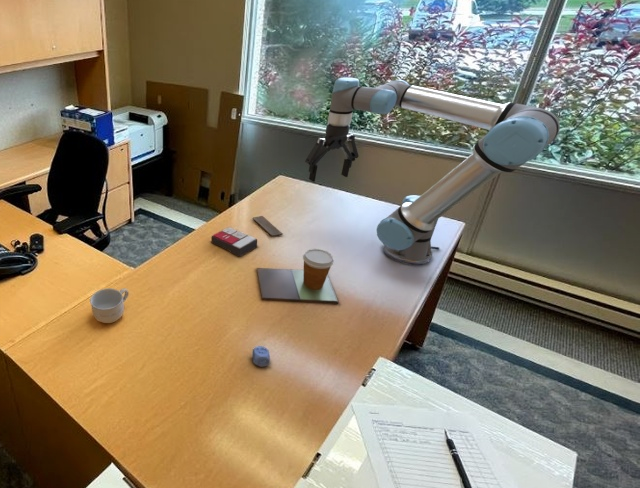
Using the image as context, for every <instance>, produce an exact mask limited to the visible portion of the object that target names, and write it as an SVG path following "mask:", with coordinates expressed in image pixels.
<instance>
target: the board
mask: <svg viewBox="0 0 640 488" xmlns="http://www.w3.org/2000/svg"><path fill="white" fill-rule="evenodd" d="M256 273H257V278H258V284H259V290H260V296H261V300H263V301H276V302H277V301H278V302H294V303H295V302H296V303H313V304H328V305H329V304H331V305H338V304H339V300H338V298H337V295H336V293H335V290H334V288H333V285H332V283H331V281H330V279H329V276H328V275H327V277H326V280H325V282H324V285H323V287H322V288H321V289H319V290H313V289H309V288H307V287H306V286H305V285H304V283H303V276H304V269H292V268H290V269H287V268H270V267H269V268H267V267H266V268H265V267H256Z"/></svg>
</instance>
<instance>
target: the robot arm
mask: <svg viewBox="0 0 640 488" xmlns="http://www.w3.org/2000/svg"><path fill="white" fill-rule="evenodd" d="M394 107H397V108H401V109H405V110H409V111H414V112H417V113H421V114H424V115H429V116H433V117H436V118H441V119H445V120H448V121H451V122H456V123H461V124H464V125H467V126H472V127H476V128H480V129H484V130H487V131H488V132H487V133H486V134H485V135H484V136H483V137H482V138H481V139H479V140H478V141H477V142H475V144H474V145H473V146H472V149H473V151H472V153H471V154H470V155H469V156H467V158H465V159H464V160H462V161H461V162H460V163H459V164H457V166H455V167H454V168H453V169H451V170H450V171H449V172H448V173H447V174H446V175H444V176H443V177H442V178H441V179H440V180H438V181H437V182H436V183H435V184H433V185H432V186H431V187H430V188H429V189H427V190H426V191H425V192H424V193H423V194H421V195H413V194H412V195H407V196H404V198H403V200H402V201H401V202H402V203H401V205H400V206H399V207H397V208H396V209H395V210H394V211H392V213H390V214H389V215H388V216H386V217H385V218H383V219H381V220H380V222H379V223H378V224H377V227H376V236H377V237H378V240H379V242H381V244H382V245H383V252H384V254H385V255H386V256H387V257H389V258H391V259H392V260H394V261H396V262H399V263H402V264H406V265H412V266H413V265H414V266H417V265H418V266H419V265H425V264H427V263H429V262H430V261H431V258H432V255H433V253H432V252H433V251H432V250H440V247H438V246H432V242H431V240H432V237H433V235H434V231H435V229H436V226H437V224H438V221H439V219H440V218H442V216H444V215H446V214H447V213H448V212H449V211H451V210H452V209H454V208H455V207H457V206H458V205H460V204H461V203H462V202H463V201H465V200H466V199H468V197H470V196H471V195H473V194H474V193H475V192H477V191H479V190H480V189H481V188H483V187H484V186H485V185H486V184H487V183H489V182H491V181H492V180H493V179H495V178H496V177H498V176H499V175H500V174H511V173H513V172H514V171H516V170H517V169H518V168H520V167H521V166H523V165H524V164H526V163H528V162H529V161H531V160H534V159H535V158H537V157H539V155H540V154H541V153H542V152H543V151H544V150H545V149H546V148H547V147H548V146H549V145H550V144H551V143H553V142H554V141H555V140H556V138H557V137H558V136H559V133H560V127H561V126H560V125H561V123H560V121H559V119H558V117H557V116H556V115H555V114H554V113H553V112H552V111H550V110H548V109H544V108H542V107H539V106H538V107H537V106H533V105H528V104H527V105H526V104H522V103H516V102H511V101H509V102H507V103H503V104H502V103H498V102H492V101H487V100H484V99H479V98H473V97H469V96H464V95H459V94H455V93H451V92H446V91H441V90H436V89H431V88H426V87H422V86H417V85H412V84H409V83H408V82H407V80H403V79H395V80H391V81H389V82H387V83H384V84H382V85H378V86H375V87H369V86H361V85H360V80H359V79H358V78H355V77H340V78H337V79H336V80H335V81H334V84H333V89H332V92H331V100H330V105H329V110H328V115H327V116H328V117H327V123H326V127H325V137H323V138H321V137H317V138H316V141H315V144H314V145H313V147H312V148H311V150H310V152H309V154H308V155H307V156H306V158H305V160H304V162H305V163H306V164H307V165H309V166H308V172H309V177H308V180H309V181H311V182H313V183H315V182H316V177H317V171H318V163H319V161H321V160H322V158H323V157H324V156H325V155H326V154H327V153H328V152H330V151H331V150H336V149H337V150H341V151H342V153H343V154H344V156H345V157H346V158H344V160H343V164H342V169H341V176H343V177H345V178H348V176H349V172H350V168H351V167H352V164H353V162H355V160H356V159H358V158H359V156H360V155H359V153H358V149H357V145H356V141H355V140H356V135H354V134H352V133H350V128H351V125H350V124H351V123H352V118H353V114H354V110H356V111H361V112H366V113H367V112H368V113H373V114H376V115H378V114H379V115H387V114H390V113H391V111H392V110H393V109H394ZM346 142H347V144H348V146H347V144H346Z"/></svg>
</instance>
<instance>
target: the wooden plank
mask: <svg viewBox="0 0 640 488" xmlns="http://www.w3.org/2000/svg"><path fill="white" fill-rule="evenodd" d="M252 220H253V221H254V222H255V223H257V225H258V226H260V227H261V228H262V229H263V230H264V231H265V232H267V233H268V234H269V235H270V236H271V237H277V236H283V233H282V232H281V230H279V229H278V228H277V227H276V226H275V225H273V223H272V222H270V221H269V220H268V219H267V218H266V217H264V215H259V216H254V217H253V216H252Z"/></svg>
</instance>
